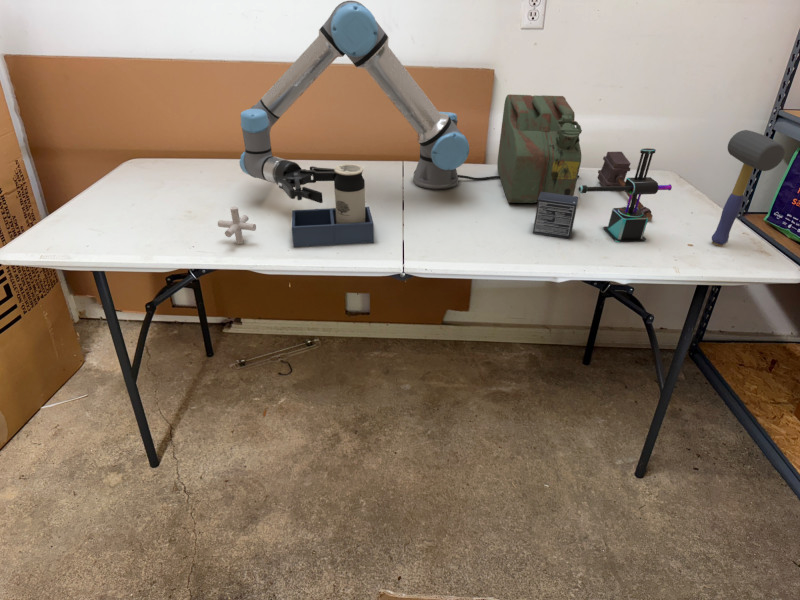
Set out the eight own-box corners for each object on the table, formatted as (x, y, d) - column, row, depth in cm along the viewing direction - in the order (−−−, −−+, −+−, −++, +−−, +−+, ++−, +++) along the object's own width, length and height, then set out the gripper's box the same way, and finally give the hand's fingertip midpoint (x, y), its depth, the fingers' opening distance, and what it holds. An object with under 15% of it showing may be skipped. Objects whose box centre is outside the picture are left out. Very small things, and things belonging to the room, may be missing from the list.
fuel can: (508, 207, 163) (521, 118, 148) (496, 168, 192) (505, 91, 177) (570, 209, 162) (590, 120, 147) (548, 170, 191) (562, 92, 176)
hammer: (614, 176, 183) (623, 150, 175) (653, 234, 160) (666, 207, 153) (595, 177, 182) (604, 151, 175) (632, 235, 159) (644, 207, 152)
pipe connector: (249, 253, 135) (243, 218, 130) (213, 249, 137) (206, 214, 131) (264, 236, 144) (260, 202, 138) (231, 232, 145) (225, 198, 140)
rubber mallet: (692, 234, 149) (730, 127, 132) (717, 233, 150) (758, 127, 133) (718, 255, 139) (763, 142, 122) (744, 254, 139) (793, 142, 123)
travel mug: (353, 222, 149) (350, 161, 139) (371, 231, 145) (370, 168, 135) (330, 231, 145) (327, 168, 135) (349, 240, 140) (346, 176, 130)
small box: (571, 229, 150) (579, 195, 144) (570, 239, 145) (578, 204, 139) (534, 224, 153) (540, 190, 147) (531, 233, 148) (537, 198, 142)
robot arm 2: (641, 226, 153) (667, 143, 139) (657, 241, 145) (686, 154, 132) (559, 229, 150) (576, 144, 137) (571, 243, 143) (590, 156, 129)
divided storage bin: (369, 225, 151) (369, 206, 147) (373, 242, 142) (373, 223, 138) (294, 229, 148) (292, 210, 144) (293, 247, 139) (291, 227, 135)
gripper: (314, 173, 161) (367, 189, 151) (251, 198, 144) (307, 218, 134) (312, 149, 157) (367, 164, 147) (247, 172, 140) (304, 190, 130)
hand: (338, 190), depth 141 cm, fingers open, 13 cm apart
